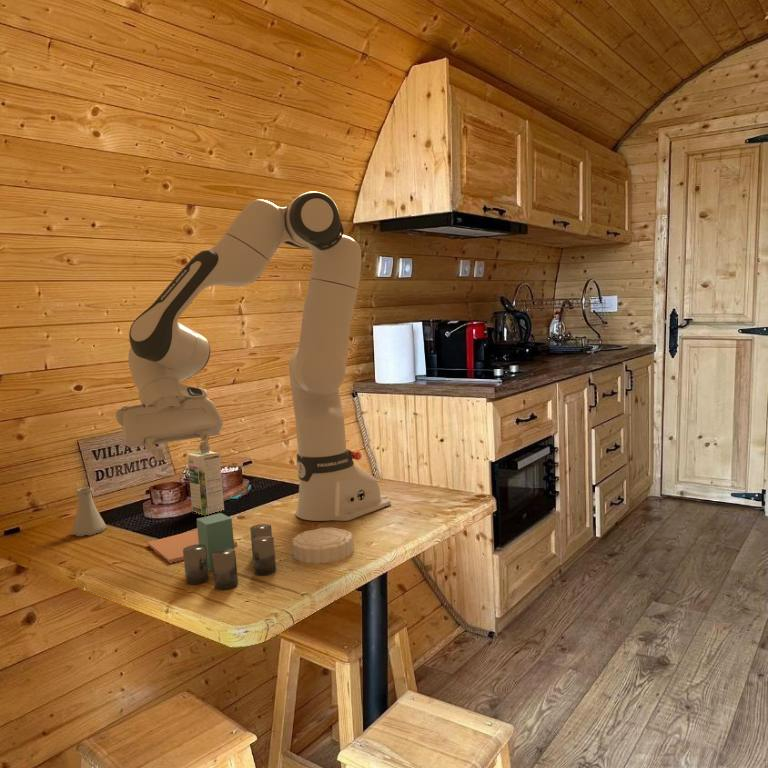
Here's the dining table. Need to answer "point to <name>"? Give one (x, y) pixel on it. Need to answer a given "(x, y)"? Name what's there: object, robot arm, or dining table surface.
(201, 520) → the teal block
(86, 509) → the flask
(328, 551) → the mooncake
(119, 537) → the dining table surface
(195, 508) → the syrup box
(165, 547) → the tile
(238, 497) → the sponge
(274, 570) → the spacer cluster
